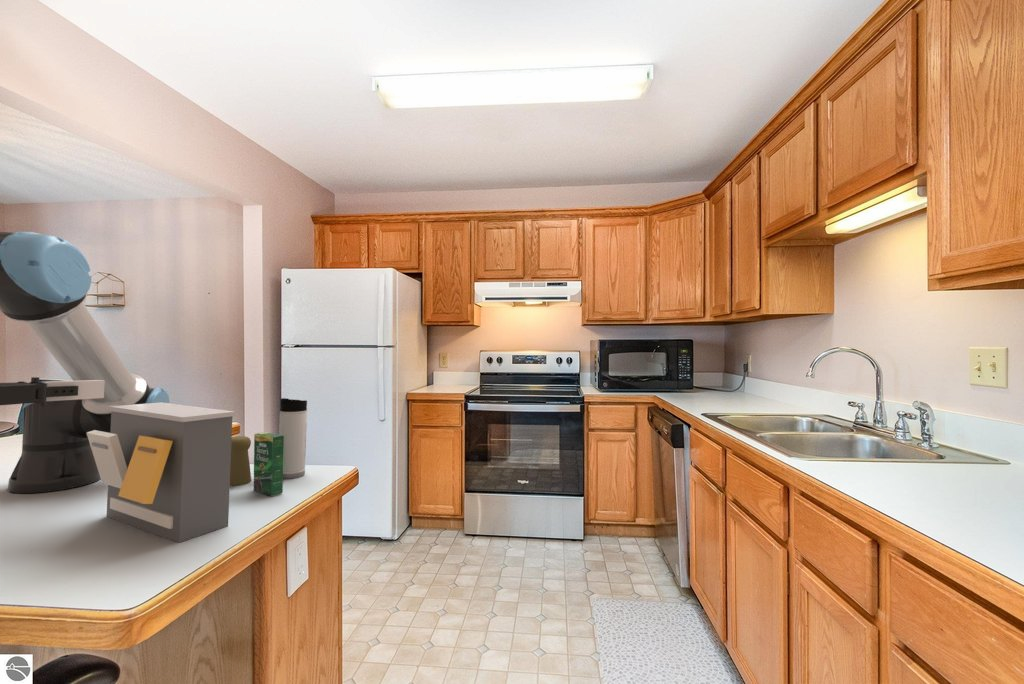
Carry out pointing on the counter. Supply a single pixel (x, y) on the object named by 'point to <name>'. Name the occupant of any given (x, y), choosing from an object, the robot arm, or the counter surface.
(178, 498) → the switch panel
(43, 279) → the robot arm
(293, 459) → the travel mug
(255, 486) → the coffee box
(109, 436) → the rocker ivory
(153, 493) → the rocker amber
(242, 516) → the counter surface
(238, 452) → the cork
